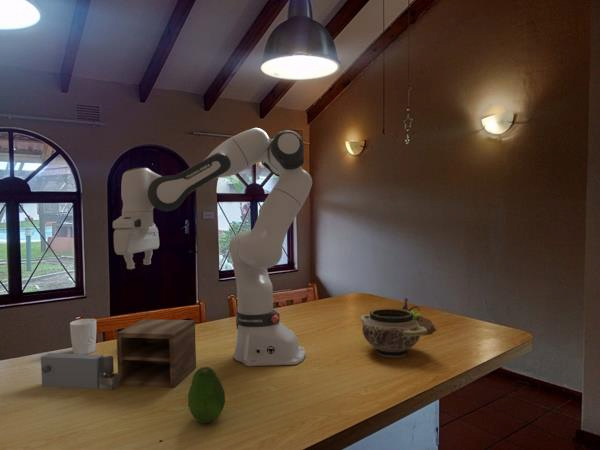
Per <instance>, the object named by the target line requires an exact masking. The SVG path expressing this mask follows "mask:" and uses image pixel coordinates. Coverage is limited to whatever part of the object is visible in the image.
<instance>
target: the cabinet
mask: <svg viewBox="0 0 600 450" xmlns="http://www.w3.org/2000/svg"><path fill="white" fill-rule="evenodd" d="M196 351H197V348H196V321H195V320H194V319H190V320H189V319H159V318H158V319H154V318H153V319H149V318H148V319H147V318H144V319H142V320H139V321H137V322H136V323H135V322H134V323H133V324H132V325H129V326H126V327H125V328H123V329H121V330H119V331H118V332H116V353H117V354H116V355H117V373H115V372H113V373H111V374H112V378H107V374H105V373H104V375H103V376H102V377H100V378H99V388H98V389H99V390H103V391H114V390H115V389H116V388H118V387H119V386H133V387H134V386H136V387H153V388H155V387H156V388H175V389H176V387H177V386H178V385H180V383H182V382H183V381H184V380H185V379H186V378H187V377H188V376H189V375H190V374H192V372H193V371H195V370H196V369H197V355H196V354H197V353H196Z"/></svg>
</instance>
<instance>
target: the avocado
mask: <svg viewBox="0 0 600 450" xmlns="http://www.w3.org/2000/svg"><path fill="white" fill-rule="evenodd" d="M225 393H226V392H225V389H224V386H223V384H222V383H221V380H220V379H219V377H218V376H217V374H216V372H215V370H214V369H213V368H211V367H209V366H203V367H200V368H199V369H198V370H197V371H196V372H195V373H194V374H193V376H192V380H191V385H190V387H189V391H188V394H187V402H188V403H187V404H188V405H187V407H188V409H189V412H190V414H191V416H192V417H193V419H194V420H195V421H196V422H199V423H202V424H206V423H210V422H213V421H214V420H216V419H218V417H219V416H220V415H221V414H222V413H223V410H224V407H225V404H226V396H225V395H226V394H225Z"/></svg>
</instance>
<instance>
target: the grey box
mask: <svg viewBox="0 0 600 450" xmlns="http://www.w3.org/2000/svg"><path fill="white" fill-rule="evenodd" d="M40 366H41V367H40V368H41V371H40V372H41V386H42V387H53V388H72V389H73V388H74V389H92V390H93V389H95V390H98V389H100V388H99V378H100V377H102V376H103V375H105V374H107V378H112V374H111V373H115V372H114V371H115V370H114V356H113V355H106V356H104V354H89V353H88V354H73V353H55V352H53V353H51V352H48V353H46V354H44V355H42V356H40Z"/></svg>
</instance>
